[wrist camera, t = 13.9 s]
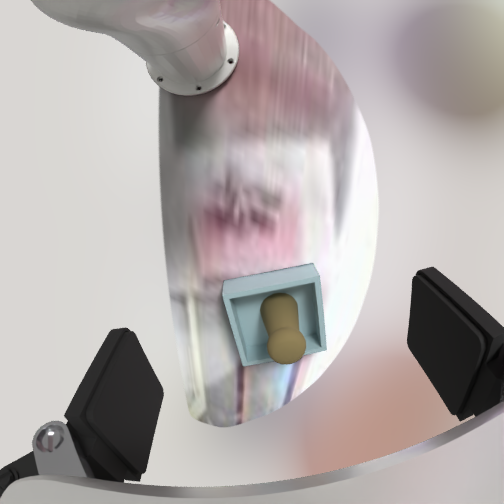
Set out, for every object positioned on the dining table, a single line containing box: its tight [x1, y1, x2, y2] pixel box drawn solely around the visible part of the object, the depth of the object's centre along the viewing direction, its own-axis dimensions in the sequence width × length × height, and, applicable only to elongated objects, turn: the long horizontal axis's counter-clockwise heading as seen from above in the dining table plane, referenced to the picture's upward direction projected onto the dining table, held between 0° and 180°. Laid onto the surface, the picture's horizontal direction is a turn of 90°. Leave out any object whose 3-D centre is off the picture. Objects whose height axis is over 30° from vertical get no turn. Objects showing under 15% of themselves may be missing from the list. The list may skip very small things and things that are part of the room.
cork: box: [260, 293, 306, 364], centre depth 42 cm, size 6×6×11 cm
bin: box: [222, 263, 327, 366], centre depth 45 cm, size 14×14×4 cm
